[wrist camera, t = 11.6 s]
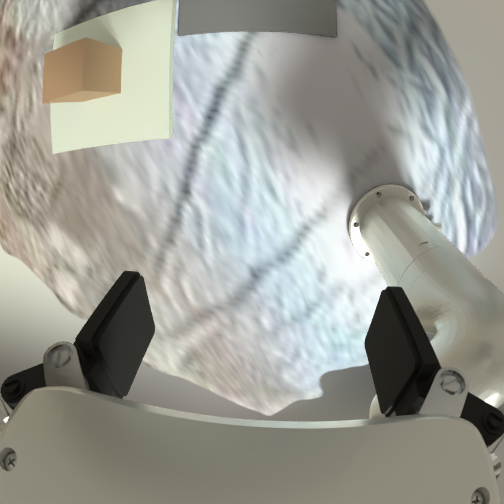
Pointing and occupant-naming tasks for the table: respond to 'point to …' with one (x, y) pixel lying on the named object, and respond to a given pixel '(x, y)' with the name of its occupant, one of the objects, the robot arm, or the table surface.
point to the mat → (258, 16)
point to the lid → (112, 78)
